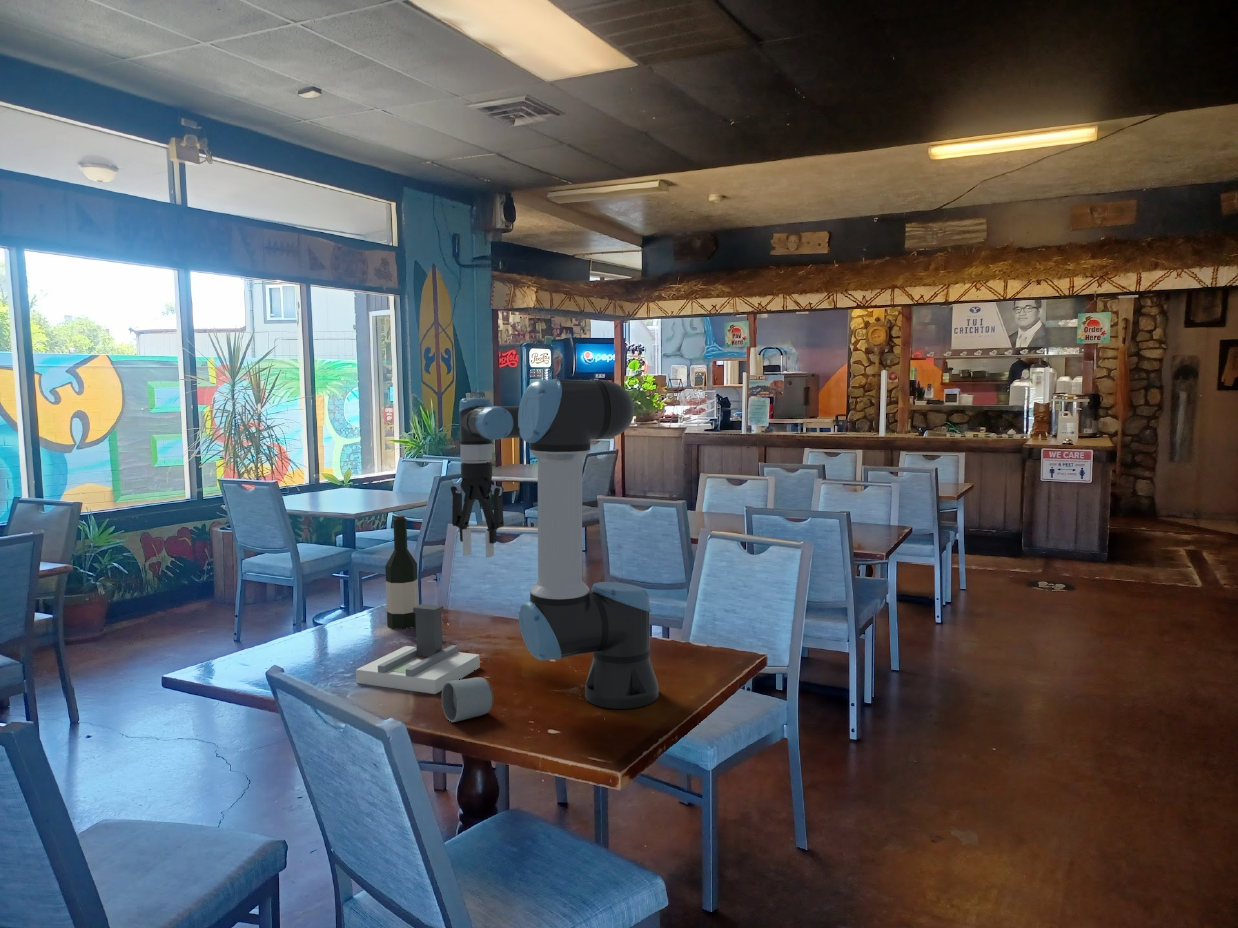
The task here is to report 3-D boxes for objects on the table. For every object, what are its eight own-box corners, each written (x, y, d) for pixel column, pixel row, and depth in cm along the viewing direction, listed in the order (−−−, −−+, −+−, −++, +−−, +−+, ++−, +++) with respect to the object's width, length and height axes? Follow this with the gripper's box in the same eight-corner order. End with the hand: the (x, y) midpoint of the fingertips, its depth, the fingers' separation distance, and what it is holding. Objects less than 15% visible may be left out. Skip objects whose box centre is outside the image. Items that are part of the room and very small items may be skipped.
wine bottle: (386, 622, 228) (383, 514, 225) (417, 619, 230) (414, 512, 228) (387, 630, 220) (384, 518, 217) (420, 627, 222) (416, 517, 220)
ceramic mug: (496, 717, 159) (495, 678, 159) (457, 727, 155) (456, 687, 154) (471, 702, 168) (470, 665, 167) (434, 711, 163) (432, 673, 163)
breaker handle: (444, 654, 188) (443, 605, 188) (435, 658, 185) (434, 609, 184) (423, 651, 190) (422, 603, 190) (414, 656, 187) (413, 607, 186)
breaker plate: (479, 667, 189) (479, 648, 189) (435, 693, 172) (434, 672, 172) (406, 658, 196) (405, 639, 196) (356, 682, 180) (355, 662, 179)
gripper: (517, 461, 201) (519, 555, 203) (451, 459, 208) (454, 550, 210) (502, 463, 194) (504, 560, 196) (434, 462, 201) (437, 556, 203)
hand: (478, 555), depth 203 cm, fingers open, 6 cm apart
